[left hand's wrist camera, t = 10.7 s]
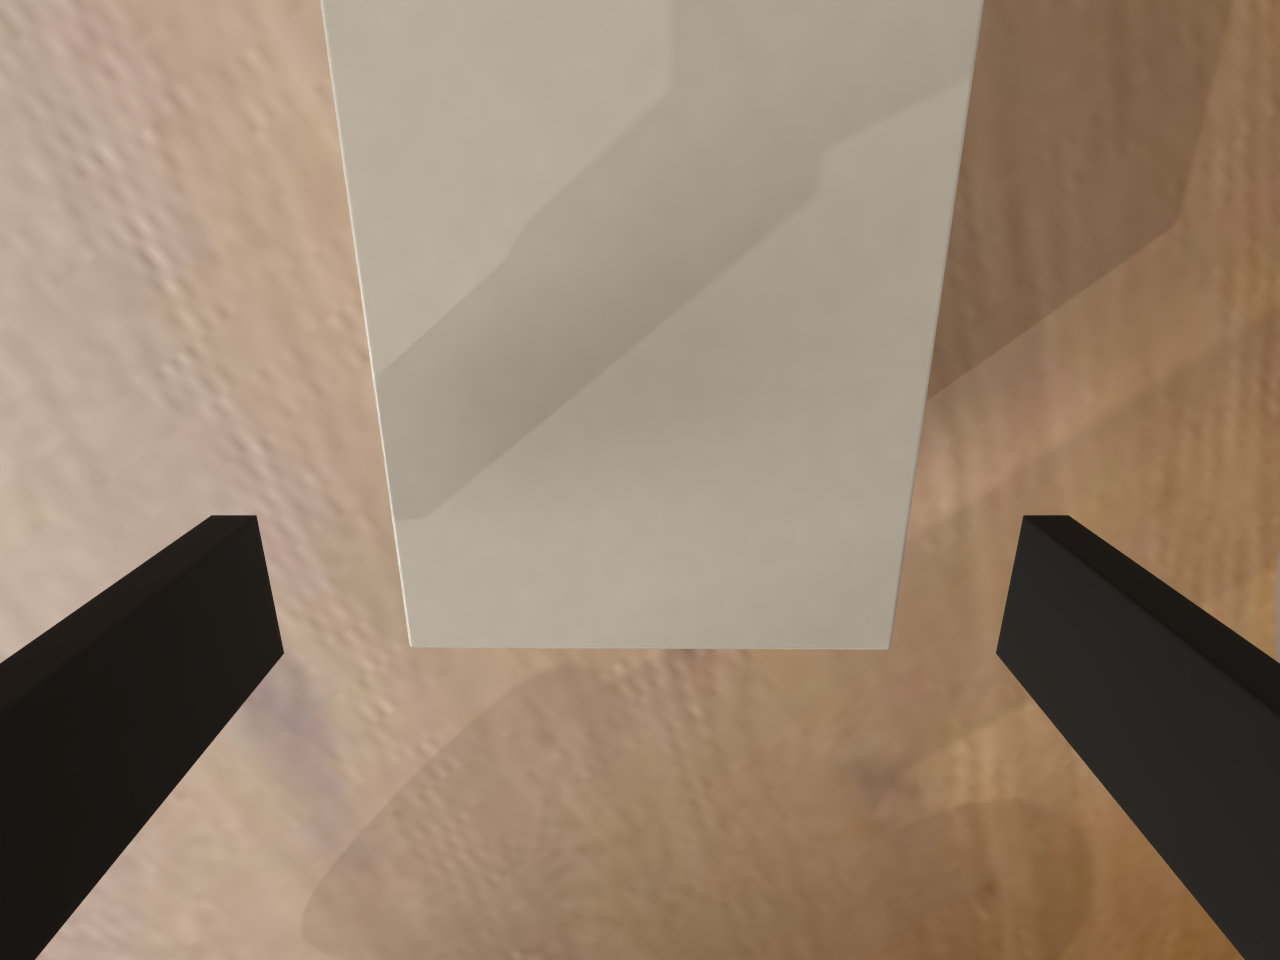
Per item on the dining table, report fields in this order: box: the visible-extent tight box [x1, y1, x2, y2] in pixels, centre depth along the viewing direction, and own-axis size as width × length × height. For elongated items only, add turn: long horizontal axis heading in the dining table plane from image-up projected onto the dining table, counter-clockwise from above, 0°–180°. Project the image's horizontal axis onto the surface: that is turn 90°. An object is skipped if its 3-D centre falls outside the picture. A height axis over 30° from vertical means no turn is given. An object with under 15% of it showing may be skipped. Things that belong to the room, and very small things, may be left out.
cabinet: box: [320, 0, 984, 649], centre depth 16 cm, size 16×10×9 cm, turn 0°
